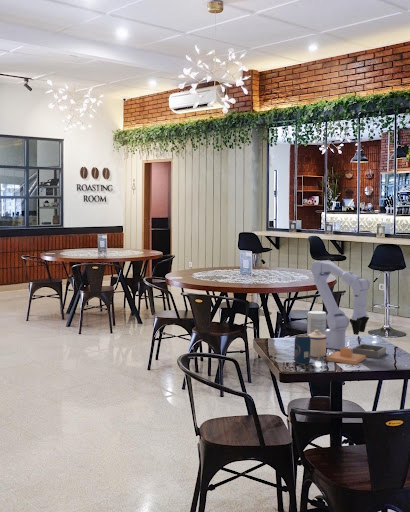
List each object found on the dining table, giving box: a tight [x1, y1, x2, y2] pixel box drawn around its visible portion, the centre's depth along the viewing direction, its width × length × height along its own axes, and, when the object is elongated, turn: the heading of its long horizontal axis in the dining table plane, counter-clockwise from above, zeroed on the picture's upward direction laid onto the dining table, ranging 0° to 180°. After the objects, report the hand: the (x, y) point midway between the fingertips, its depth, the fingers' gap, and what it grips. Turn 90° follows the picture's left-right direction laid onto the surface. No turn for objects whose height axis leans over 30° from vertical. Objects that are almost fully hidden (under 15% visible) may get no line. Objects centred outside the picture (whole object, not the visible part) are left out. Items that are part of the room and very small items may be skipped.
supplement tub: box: [306, 310, 327, 335], centre depth 327 cm, size 10×10×15 cm
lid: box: [325, 347, 366, 366], centre depth 287 cm, size 14×14×5 cm
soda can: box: [293, 334, 311, 365], centre depth 280 cm, size 7×7×12 cm
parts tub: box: [352, 343, 387, 359], centre depth 299 cm, size 12×12×3 cm
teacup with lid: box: [308, 330, 327, 358], centre depth 295 cm, size 12×9×12 cm
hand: (358, 333), depth 300 cm, fingers open, 7 cm apart
